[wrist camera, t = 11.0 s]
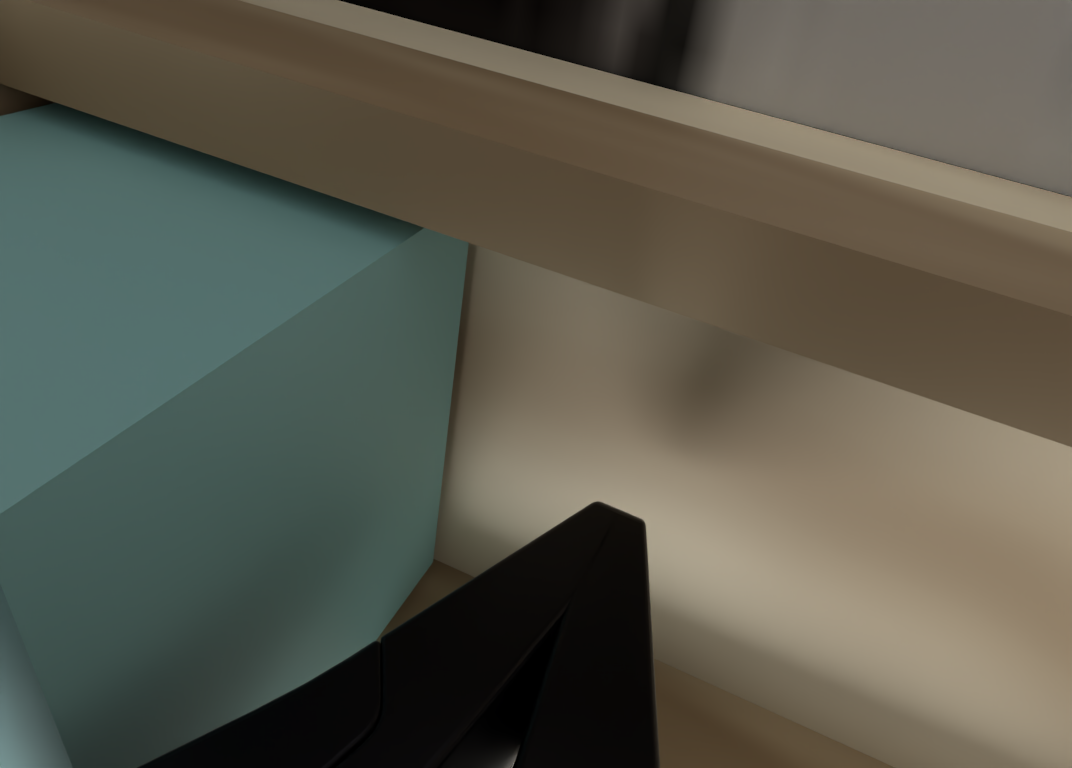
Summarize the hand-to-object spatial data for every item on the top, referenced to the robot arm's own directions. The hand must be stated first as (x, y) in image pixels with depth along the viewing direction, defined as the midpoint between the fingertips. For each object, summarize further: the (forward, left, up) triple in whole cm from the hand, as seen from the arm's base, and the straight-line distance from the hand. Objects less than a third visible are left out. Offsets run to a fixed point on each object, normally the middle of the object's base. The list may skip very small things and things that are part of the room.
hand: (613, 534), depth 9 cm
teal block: (0, +5, -1) cm, 5 cm away
